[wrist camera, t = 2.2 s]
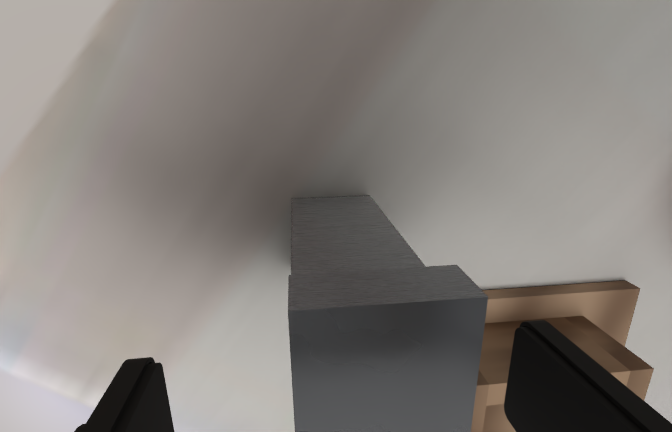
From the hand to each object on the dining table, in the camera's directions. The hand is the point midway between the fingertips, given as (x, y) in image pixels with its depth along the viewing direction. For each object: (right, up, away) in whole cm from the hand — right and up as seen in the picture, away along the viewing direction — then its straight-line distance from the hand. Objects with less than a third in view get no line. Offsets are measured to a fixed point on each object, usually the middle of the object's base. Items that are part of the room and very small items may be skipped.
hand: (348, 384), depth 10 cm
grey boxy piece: (-1, +4, +10) cm, 10 cm away
